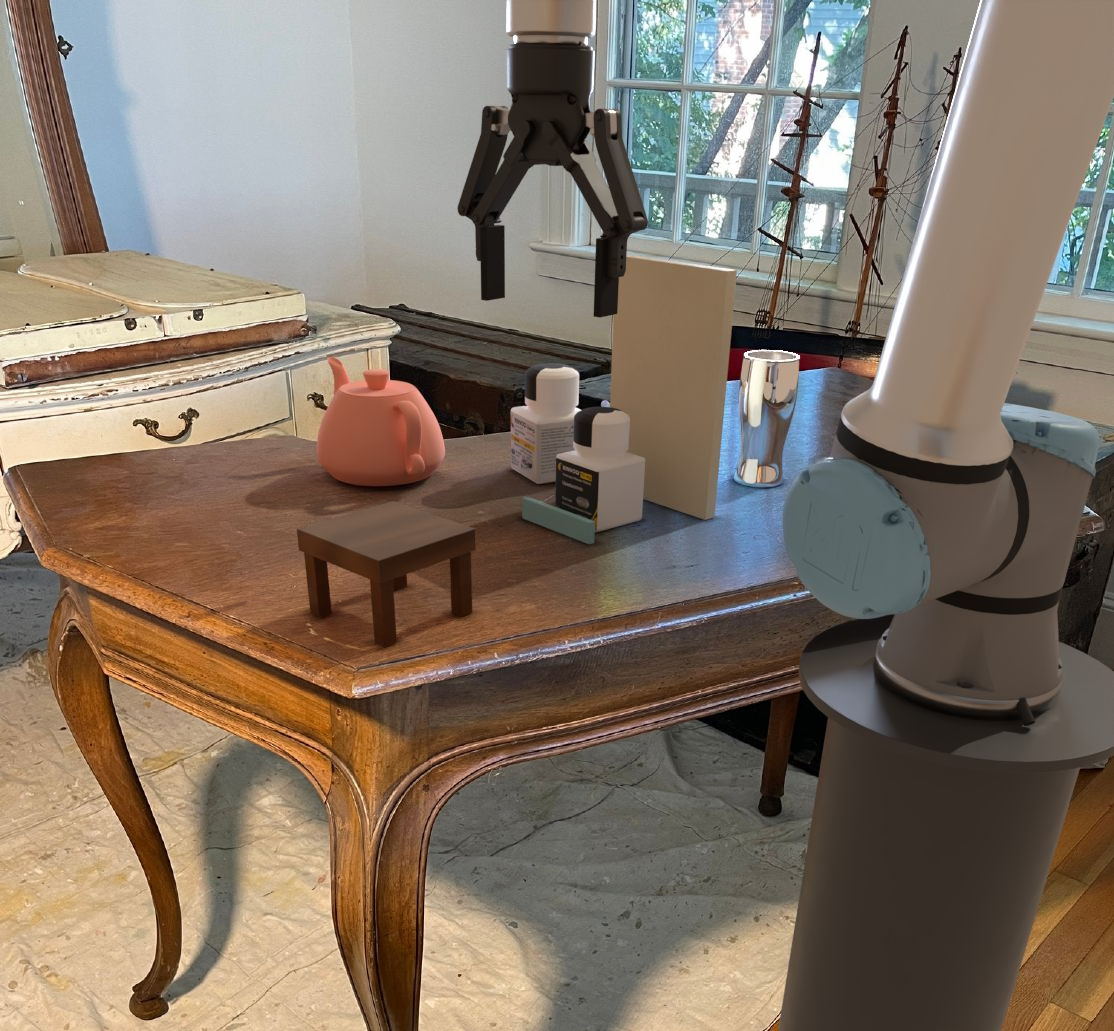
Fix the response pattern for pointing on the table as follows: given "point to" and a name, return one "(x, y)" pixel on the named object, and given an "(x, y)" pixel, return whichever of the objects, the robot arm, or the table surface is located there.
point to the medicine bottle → (601, 470)
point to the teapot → (378, 431)
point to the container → (544, 421)
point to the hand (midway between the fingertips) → (547, 307)
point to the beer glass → (765, 415)
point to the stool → (386, 557)
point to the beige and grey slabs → (666, 385)
